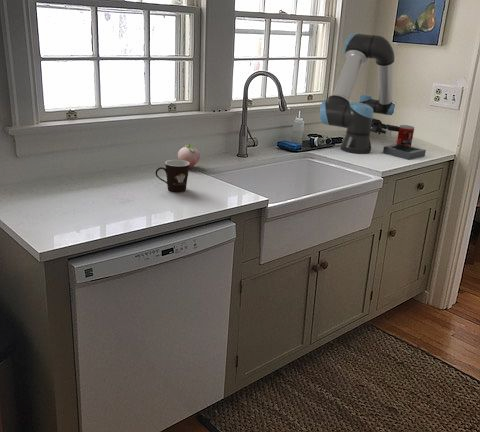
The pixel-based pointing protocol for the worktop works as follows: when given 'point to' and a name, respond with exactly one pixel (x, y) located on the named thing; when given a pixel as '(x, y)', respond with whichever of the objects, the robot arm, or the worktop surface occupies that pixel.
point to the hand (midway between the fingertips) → (399, 133)
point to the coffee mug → (176, 175)
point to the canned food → (405, 135)
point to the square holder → (404, 151)
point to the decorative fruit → (189, 155)
